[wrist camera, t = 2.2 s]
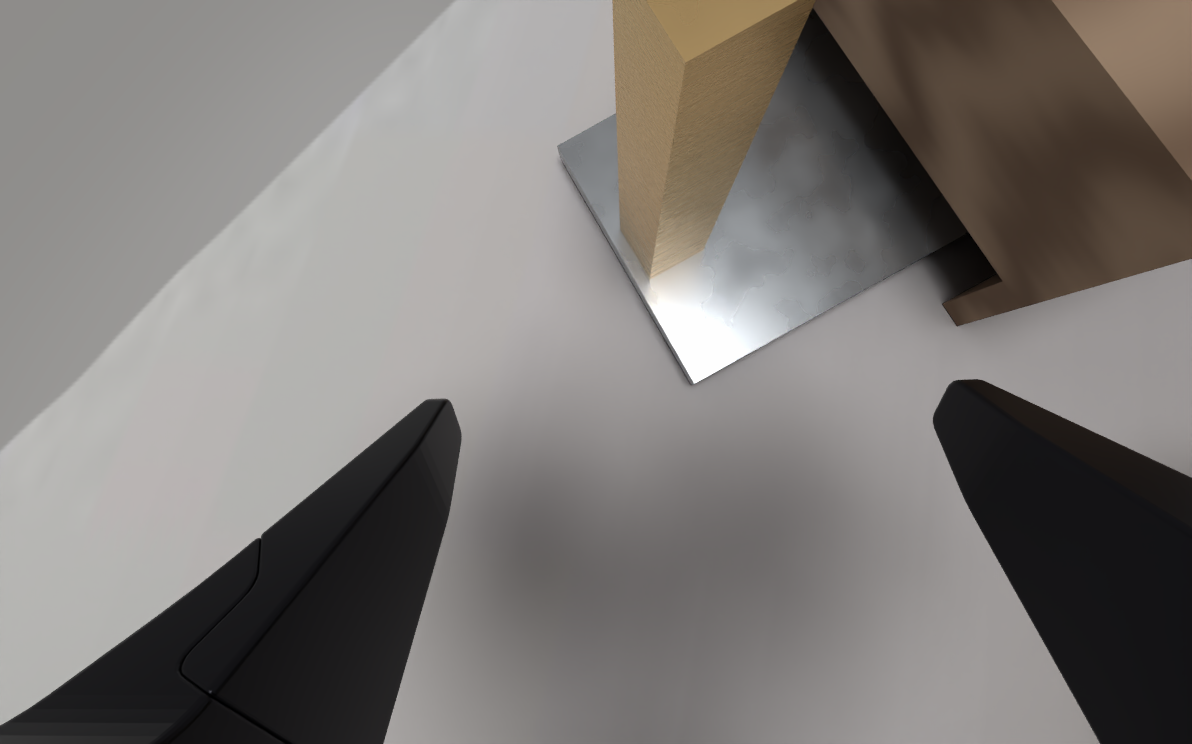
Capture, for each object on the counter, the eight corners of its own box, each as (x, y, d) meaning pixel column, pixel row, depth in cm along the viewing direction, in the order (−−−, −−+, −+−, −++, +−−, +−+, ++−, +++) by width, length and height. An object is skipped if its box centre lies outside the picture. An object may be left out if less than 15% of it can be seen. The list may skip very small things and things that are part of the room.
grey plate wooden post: (1018, -97, 23) (1606, -874, 9) (1185, 113, 22) (2199, -447, 8) (560, 157, 23) (462, -233, 9) (691, 385, 22) (807, 320, 8)
